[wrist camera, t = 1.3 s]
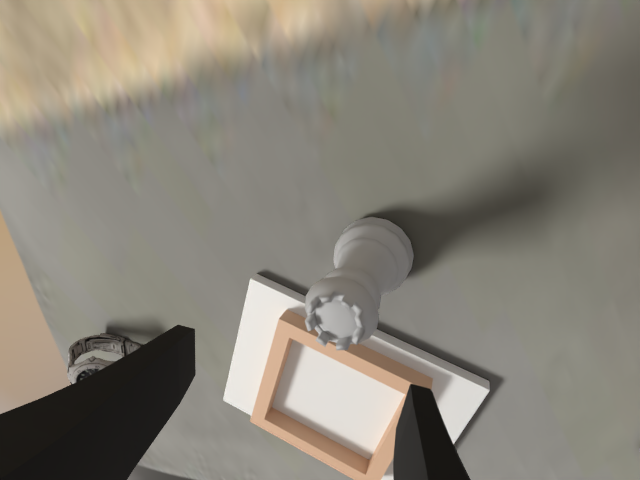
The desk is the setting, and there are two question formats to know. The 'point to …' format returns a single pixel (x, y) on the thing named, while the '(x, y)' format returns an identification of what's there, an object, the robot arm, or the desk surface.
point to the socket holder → (336, 385)
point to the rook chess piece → (358, 282)
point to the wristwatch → (94, 364)
